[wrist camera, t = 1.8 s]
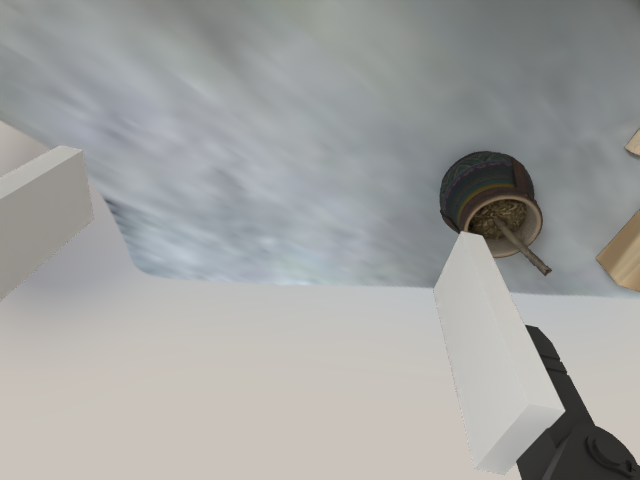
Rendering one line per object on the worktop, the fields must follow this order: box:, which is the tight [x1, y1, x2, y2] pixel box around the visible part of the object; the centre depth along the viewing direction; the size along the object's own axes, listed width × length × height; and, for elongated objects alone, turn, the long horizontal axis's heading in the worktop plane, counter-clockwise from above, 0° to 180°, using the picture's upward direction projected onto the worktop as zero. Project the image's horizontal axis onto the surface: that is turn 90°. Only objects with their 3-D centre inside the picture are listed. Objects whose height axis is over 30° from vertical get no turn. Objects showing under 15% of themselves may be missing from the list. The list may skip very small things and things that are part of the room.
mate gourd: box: [440, 151, 552, 276], centre depth 30 cm, size 7×8×10 cm
